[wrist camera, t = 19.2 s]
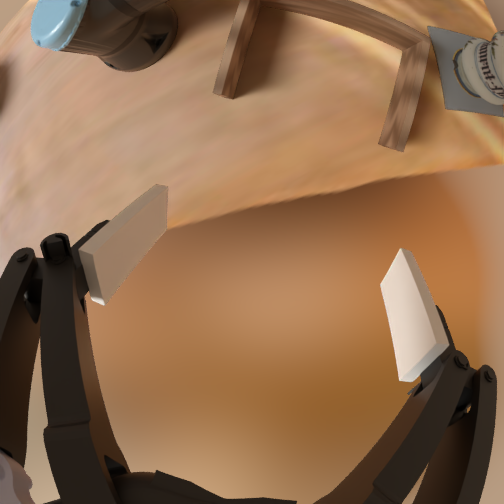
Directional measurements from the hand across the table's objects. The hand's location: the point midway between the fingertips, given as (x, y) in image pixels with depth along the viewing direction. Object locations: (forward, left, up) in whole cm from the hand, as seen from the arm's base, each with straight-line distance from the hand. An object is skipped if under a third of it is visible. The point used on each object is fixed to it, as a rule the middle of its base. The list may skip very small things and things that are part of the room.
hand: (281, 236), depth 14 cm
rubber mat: (-15, +38, -31) cm, 51 cm away
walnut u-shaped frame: (-15, +9, -31) cm, 35 cm away
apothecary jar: (-15, +38, -30) cm, 51 cm away
